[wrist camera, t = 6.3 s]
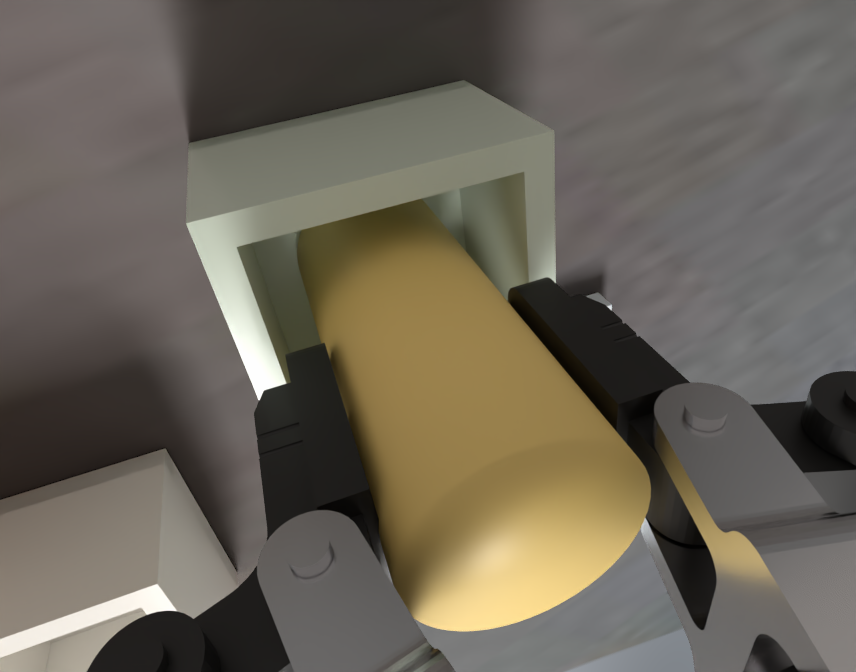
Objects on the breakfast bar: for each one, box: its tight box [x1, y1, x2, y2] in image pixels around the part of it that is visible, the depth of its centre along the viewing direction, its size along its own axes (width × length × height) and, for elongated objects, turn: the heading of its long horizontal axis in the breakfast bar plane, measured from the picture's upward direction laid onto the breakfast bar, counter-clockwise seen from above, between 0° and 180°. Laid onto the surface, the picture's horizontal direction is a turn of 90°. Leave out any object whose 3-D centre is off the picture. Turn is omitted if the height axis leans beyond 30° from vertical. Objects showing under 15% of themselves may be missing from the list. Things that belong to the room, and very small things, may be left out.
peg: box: [297, 199, 651, 631], centre depth 11 cm, size 4×4×9 cm
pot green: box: [186, 80, 556, 400], centre depth 14 cm, size 6×6×4 cm
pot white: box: [0, 449, 239, 672], centre depth 17 cm, size 6×6×4 cm
